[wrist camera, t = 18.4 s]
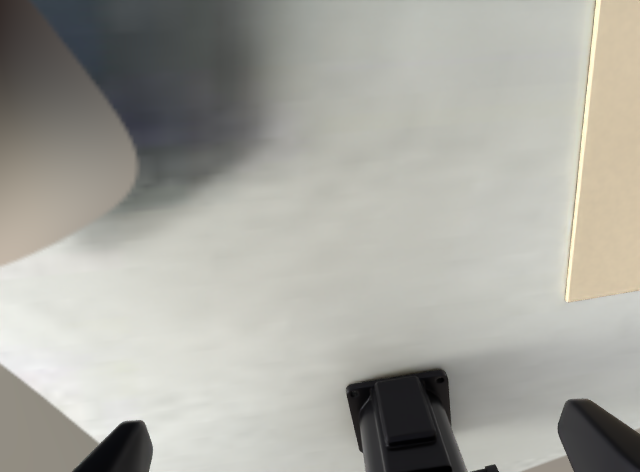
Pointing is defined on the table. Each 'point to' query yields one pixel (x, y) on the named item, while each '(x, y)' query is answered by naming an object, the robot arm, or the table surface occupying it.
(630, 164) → the cloth
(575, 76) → the table surface
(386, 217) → the table surface
